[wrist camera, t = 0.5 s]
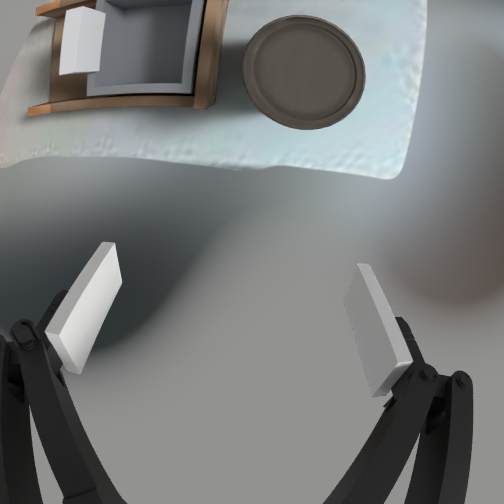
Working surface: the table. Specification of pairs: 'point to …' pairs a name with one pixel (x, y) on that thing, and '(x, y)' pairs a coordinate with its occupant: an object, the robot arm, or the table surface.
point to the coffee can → (303, 72)
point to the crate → (134, 45)
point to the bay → (75, 93)
